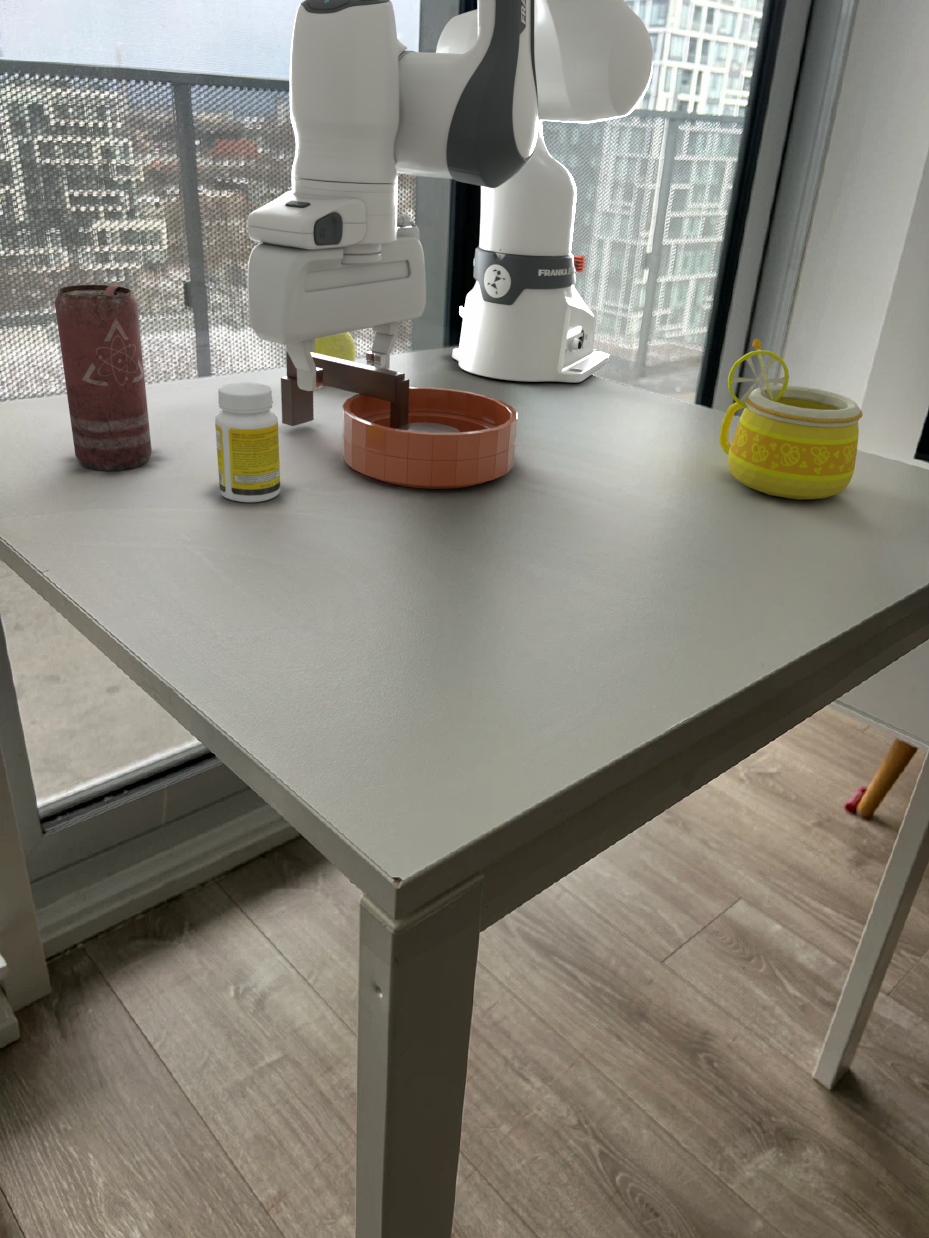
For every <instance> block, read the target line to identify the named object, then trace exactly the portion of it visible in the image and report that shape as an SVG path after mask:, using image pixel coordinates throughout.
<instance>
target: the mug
mask: <svg viewBox="0 0 929 1238" xmlns="http://www.w3.org/2000/svg"><path fill="white" fill-rule="evenodd" d="M762 346H763V344H762V341H761V340H760V339H759V338H755V339H753V341H752V348H754V351H753V350H752V351H749V352H747V353H745V354H743V355H742V356H741V357H740V358H738V359H737V360H736V361H735V362H734V364H733V366H732V367H731V368H730V369H729V373H728V377H727V387H728V392H729V394H730V396H731V398H732V399H733V400H734V401H735V402H734V403H732V404H730V405H729V406H728V408H727V409H726V411H725V413H724V417H723V419H722V421H721V425H720V429H719V440H718V441H719V442H718V443H719V445H720V448H721V450H723V452H724V453H725V454H726V455H727V456H728V457H727V464H728V469H729V471H730V474H731V476H733V477H734V478H735V479H736V480H737V481H738V482H739V483H741V484H742V485H744V486H745V487H747V488H750V489H752V490H754V491H757V492H761V493H763V494H766V495H768V496H774V497H779V498H785V499H791V500H800V501H801V500H819V499H827V498H830V497H833V496H836V495H838V494H840V493H842V492H843V491H845V489H846V488H847V487H848V485H849V484H850V483H851V481H852V478H853V475H854V472H855V467H856V461H857V454H858V446H859V445H858V444H859V436H860V435H859V434H860V432H859V431H860V429H859V427H860V426H859V421H860V419H861V418H862V417H863V411H862V410H861V408H860V406H859V404H857V402H856V401H854V400H852V399H851V398H850V397H847V396H845V395H842V394H839V393H837V392H833V391H828V390H825V389H819V388H814V387H806V386H799V385H797V386H796V385H788V384H789V380H790V374H789V369H788V367H787V365H786V362H785V361H784V360H783V358H782V357H781V356H780V355H778V354H777V353H775V352H772V351H770V350H763V349H762ZM763 355H765V356H769V357H770V359H769V360H768V362H767V364H766V366H765V362H764V358H763ZM754 356H757V358H758V361H759V366H760V369H761V372H760V375H759V376H758V375H757V372H756V368H755V366H754V365H755V364H754V363H753V362H754V361H753V359H752V357H754ZM744 361H746V362H747V364H748V366H749V367H750V369H751V371H752V373H753V375H754V376H755V378H747V377H742V376H741V377H740V376H734V374H735V371H736V370H737V368H738V366H740V365H741V363H742V362H744ZM776 362H779V363H780V365H781V366H782V368H783V372H784V373H783V374H784V376H783V377H774V378H768V374H767V372H768V371H769V370H770V369H771V368H772V367H773V365H774V364H775V363H776ZM749 382H754V383H753V384H752V385H751V386H750V388H749V389H748V390H747V391H746V392H745V393H744V394H743V396H742V397H741V398H739V397H737V396H736V394H735V393H734V389H733V383H749ZM761 382H764V385H765V386H762V384H761ZM770 383H773V384H777V385H770ZM778 384H780V385H778ZM757 385H759V387H758V388H755V387H756V386H757ZM740 409H743V411H742V413H741V415H740V417H739V420H738V423H737V426H736V429H735V431H734V435H733V438H732V440H731V444H730V443H729V435H730V434H729V433H730V426H731V424H732V420H733V417H735V414H736V413H737V411H739V410H740Z"/></svg>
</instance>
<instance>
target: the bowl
mask: <svg viewBox="0 0 929 1238" xmlns="http://www.w3.org/2000/svg"><path fill="white" fill-rule="evenodd" d="M341 407H342V408H341V409H342V410H341V414H342V416H341V417H342V418H341V423H342V424H341V425H342V427H341V430H342V431H341V434H342V435H341V436H342V439H341V441H342V449H341V450H342V451H341V452H342V453H341V454H342V458H343V461H344V462H345V463H346V465H348V466H349V467H350V468H351V469H353V470H355V471H357V472H358V473H361V474H363V475H365V476H366V477H367V476H368V477H370V478H372V479H374V480H377V481H380V482H384V483H387V484H391V485H396V486H401V487H408V488H415V489H429V490H449V489H459V488H460V489H461V488H468V487H474V486H478V485H482V484H485V483H487V482H489V481H493V480H496V479H499V478H501V477H503V476H505V475H507V474H508V473H509V472H510V471H511V470H513V468H514V460H515V459H514V458H515V449H516V438H517V424H518V412H517V411H516V409H515V408H514V407H513V406H512V405H510V404H508V403H506V402H504V401H502V400H500V399H497V398H494V397H491V396H489V395H486V394H480V393H476V392H472V391H467V390H466V391H465V390H460V389H453V388H444V387H430V386H409V411H408V424H410V423H423V422H424V423H438V424H444V425H448V426H451V427H454V428H456V429H457V430H459V432H460V433H429V432H417V431H407V430H401V429H395V428H390V401H386V400H381V399H377V398H373V397H369V396H365V395H361V394H357V393H356V394H355V395H352V396H351V397H349V398H347V399H346V400H345V401H344V402H343V404H342V406H341Z"/></svg>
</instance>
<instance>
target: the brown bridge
mask: <svg viewBox="0 0 929 1238" xmlns="http://www.w3.org/2000/svg"><path fill="white" fill-rule="evenodd" d="M285 355H286V356H285V363H286V376H282V377H280V397H281V399H280V400H281V424H283V425H287V426H291V427H294V426H295V427H296V426H298V425H301V424H302V425H303V424H304V423H305V424H306V423H308V422H312V421H314V420H315V419H314V418H315V417H314V416H315V415H314V414H315V413H314V408H315V407H314V390H313V391H306V390H302V389H300V388H299V387H298V384H297V368H296V367H295V365H294V364H293V362H292V360H291V358H290V356H289V354H288V352H287V350H286V351H285ZM311 355H312V358H313V360H314V363H315V366H316V368H320V369H323V378H322V380H323V386H324V387H325V386H326V387H328V388H333V389H337V390H340V391H341V390H342V391H346V392H350V393H353V394H356V395H357V394H361V395H365V396H369V397H373V398H377V399H381V400H386V401H390V428H395V429H401V430H407V431H417V432H429V433H460V432H459V430H457V429H456V428H454V427H451V426H448V425H444V424H438V423H424V422H423V423H410V424H408V411H409V387H410V379H409V378H406V373H405V372H401V371H396V370H391V369H389V370H387V369H383V368H379V367H374V366H370V365H366V363H361V362H356V361H354V362H352V361H348V360H343V359H339V358H334V357H330V356H326V355H321V354H317V353H312V352H311Z"/></svg>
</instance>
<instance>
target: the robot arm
mask: <svg viewBox="0 0 929 1238" xmlns="http://www.w3.org/2000/svg"><path fill="white" fill-rule="evenodd" d="M476 3H477V4H476V5H477V6H476V9H473V10H470V11H467V12H464V13H463V12H462V13H461V14H458V15H455V16H453V17H452V18H450V20H448V22H447V23H446V24H445V26H444V28H443V29H442V32H441V33H440V35H439V38H438V41H437V45H436V49H435V52H424V51H422V52H421V51H414V50H407V49H408V47H407V46H406V45H404V44H403V43H402V42H401V41H400V40H399V39H398V34H397V33H398V32H397V23H396V15H395V10H394V5H393V2H392V1H391V0H303V1H302V2H301V3H299V5H298V7H297V9H296V13H295V17H294V23H293V30H292V37H291V45H290V47H291V48H290V65H289V114H290V115H289V118H290V121H291V125H292V129H293V133H294V139H295V154H294V159H293V164H292V168H291V190H288V191H285V192H284V193H283V194H281V195H280V196H278V197H277V198H275V199H274V200H272V201H270V202H268V203H266V204H264V205H262V206H261V207H258V208H257V209H255V210H253V211H252V212H251V213H249V215H248V216H247V223H246V225H247V226H246V227H247V235H248V238H249V239H250V241H251V240H252V241H254V242H258V244H257V245H255V246H254V247H253V248H252V250H251V252H250V254H249V259H248V264H247V306H248V307H247V308H248V321H249V325H250V328H251V329H252V332H254V334H255V335H256V337H257V338H258V339H259V340H260V341H261V340H262V341H266V342H269V343H274V344H279V345H285V350H286V351H287V352H288V354H289V356H290V358H291V360H292V362H293V364H294V365H295V367H296V368H297V384H298V387H299V388H300V389H302V390H306V391H313V392H314V391H315V390H319V389H322V388H323V387H324V385H323V380H322V378H323V369H320V368H316V366H315V363H314V360H313V358H312V355H311V352H314V351H315V339H317V338H322V337H327V336H332V335H337V334H342V333H347V332H349V333H351V332H356V331H362V330H367V329H371V328H372V329H371V330H372V332H373V333H375V335H374V338H373V342H372V345H371V349H370V351H366V352H365V361H366V363H365V365H370V366H374V367H379V368H383V369H387V370H390V360H391V353H392V351H393V349H394V346H395V343H396V341H397V339H398V335H399V332H400V329H399V328H400V323H401V322H406V321H411V320H417V319H419V318H421V317H422V315H423V313H424V311H425V308H426V304H427V281H426V279H427V277H426V264H425V263H426V262H425V255H424V249H423V245H422V243H421V241H420V228H419V227H418V226H417V224H416V222H415V221H414V220H413V219H412V217H411V215H410V214H407V213H399V214H398V193H399V192H398V190H399V177H398V176H399V175H398V174H405V175H408V176H415V177H425V178H438V179H449V180H454V181H456V182H460V183H464V184H470V185H473V186H474V185H475V186H478V187H479V186H480V218H479V219H480V221H479V222H480V223H479V240H478V241H479V243H478V246H477V247H476V248H475V251H474V258H473V262H472V263H473V265H472V266H473V276H472V277H473V278H474V280H475V283H474V286H473V287H472V289H471V290H470V291H469V292H468V293H467V294H466V296H465V303H464V307H463V305H460V306H459V311H458V313H459V316H460V317H461V318H462V322H461V331H460V337H459V344H458V345H459V346H458V347H454V348H452V352H451V353H452V354H451V358H453V359H454V360H456V361H457V362H458V366H459V368H460V369H462V370H464V371H466V372H468V373H470V374H474V375H477V376H482V377H486V378H490V379H497V380H505V381H514V382H558V383H559V382H561V383H581V382H583V381H585V380H586V379H587V378H589V377H591V376H592V375H593V374H595V373H596V372H598V371H599V370H601V369H602V368H603V367H604V366H606V365H608V364H609V363H610V354H609V353H606V352H603V351H600V350H598V349H594V344H595V334H596V332H595V331H596V317H595V315H594V313H593V312H592V311H591V310H590V308H589V307H588V306H587V304H586V303H585V301H584V300H583V298H582V297H581V296H580V294H579V292H578V291H577V289H576V288H575V284H576V282H577V280H576V273H583V272H584V269H585V268H586V266H585V265H587V262H586V261H587V259H586V256H585V255H583V254H581V255H580V254H573V253H572V252H571V251H572V243H573V235H574V234H573V233H574V224H575V214H576V206H577V205H576V203H577V196H578V193H577V186H576V183H575V180H574V177H573V176H572V174H571V173H570V171H569V170H568V169H567V167H565V166H564V165H563V164H562V163H560V162H559V161H558V160H556V159H555V158H553V156H552V155H551V154H550V152H549V151H548V149H547V146H546V143H545V140H544V136H543V135H544V133H543V121H544V122H545V121H547V122H562V123H575V124H576V123H577V124H591V123H592V124H593V123H597V122H604V121H609V120H613V119H614V120H615V119H619V118H623V117H626V116H628V115H630V114H631V113H632V112H633V111H635V109H636V108H637V107H638V106H639V104H640V103H641V101H642V100H643V99H644V96H645V94H646V92H647V91H648V88H649V85H650V83H651V79H652V76H653V70H654V50H653V49H654V48H653V43H652V39H651V36H650V34H649V31H648V28H647V27H646V24H645V23H644V22H643V20H642V18H641V17H640V16H639V15H638V14H637V13H636V12H635V11H634V10H633V9H631V7H630V6H629V5H628V4H627V3H626V1H625V0H476Z"/></svg>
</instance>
